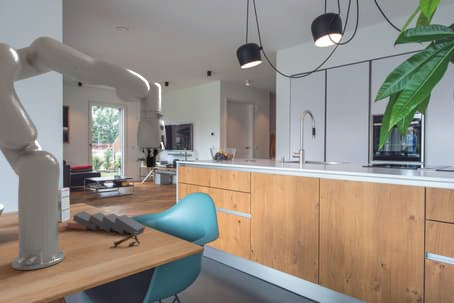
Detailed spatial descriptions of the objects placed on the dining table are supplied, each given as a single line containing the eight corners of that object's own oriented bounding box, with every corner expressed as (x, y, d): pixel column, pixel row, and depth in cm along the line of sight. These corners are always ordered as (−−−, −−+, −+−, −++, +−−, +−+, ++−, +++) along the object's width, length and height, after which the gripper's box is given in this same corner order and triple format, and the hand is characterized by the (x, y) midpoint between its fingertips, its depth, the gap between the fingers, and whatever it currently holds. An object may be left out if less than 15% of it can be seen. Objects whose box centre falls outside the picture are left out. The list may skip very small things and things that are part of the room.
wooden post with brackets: (142, 243, 96) (136, 231, 95) (119, 254, 94) (112, 242, 94) (142, 241, 97) (136, 229, 97) (119, 252, 96) (113, 240, 95)
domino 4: (132, 225, 112) (113, 213, 116) (123, 228, 108) (103, 216, 111) (130, 230, 113) (111, 218, 116) (121, 234, 108) (101, 221, 111)
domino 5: (145, 226, 110) (125, 214, 113) (136, 230, 106) (116, 217, 109) (143, 232, 111) (123, 220, 114) (134, 236, 106) (114, 223, 109)
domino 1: (95, 221, 119) (77, 219, 122) (86, 224, 114) (67, 222, 118) (95, 227, 119) (77, 225, 122) (86, 230, 114) (67, 228, 118)
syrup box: (70, 219, 131) (70, 187, 130) (61, 222, 125) (61, 189, 124) (58, 218, 131) (58, 187, 131) (49, 222, 125) (48, 188, 125)
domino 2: (104, 221, 117) (83, 211, 118) (96, 225, 112) (74, 214, 114) (102, 226, 117) (81, 216, 119) (94, 230, 113) (72, 220, 114)
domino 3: (119, 223, 115) (100, 212, 118) (110, 226, 110) (90, 215, 113) (117, 228, 115) (98, 217, 118) (108, 232, 110) (89, 220, 113)
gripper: (174, 117, 106) (174, 167, 106) (140, 118, 112) (141, 166, 112) (162, 115, 99) (162, 168, 99) (127, 117, 105) (127, 167, 105)
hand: (151, 167), depth 106 cm, fingers closed
